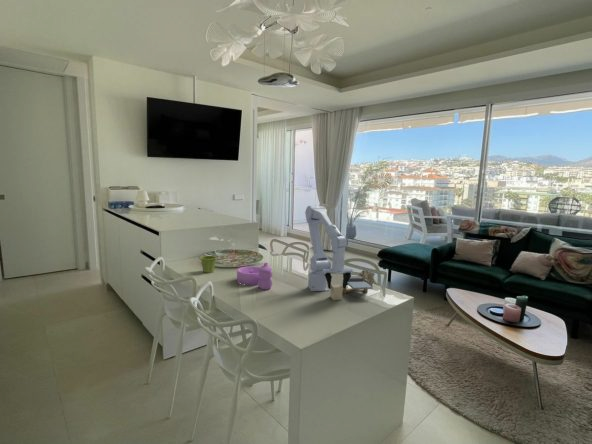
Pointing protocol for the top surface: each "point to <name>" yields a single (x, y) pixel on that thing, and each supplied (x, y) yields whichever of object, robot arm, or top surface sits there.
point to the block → (336, 292)
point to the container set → (255, 276)
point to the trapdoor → (358, 283)
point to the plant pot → (208, 263)
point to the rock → (367, 276)
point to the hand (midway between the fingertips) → (336, 288)
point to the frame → (356, 289)
